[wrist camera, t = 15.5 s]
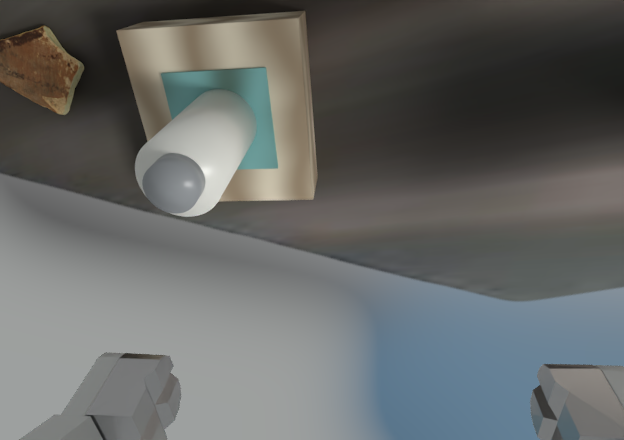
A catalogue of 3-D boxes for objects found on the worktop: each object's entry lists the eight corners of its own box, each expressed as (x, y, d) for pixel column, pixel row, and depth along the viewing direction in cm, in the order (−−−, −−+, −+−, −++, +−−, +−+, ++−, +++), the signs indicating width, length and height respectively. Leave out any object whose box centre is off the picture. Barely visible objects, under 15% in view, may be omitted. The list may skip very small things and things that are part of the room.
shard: (-34, 52, 43) (-48, 56, 42) (-19, -20, 40) (-34, -19, 38) (70, 114, 46) (60, 120, 44) (93, 51, 42) (83, 55, 41)
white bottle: (251, 87, 37) (206, 143, 26) (261, 153, 40) (223, 228, 29) (183, 90, 37) (111, 146, 27) (197, 155, 40) (138, 229, 30)
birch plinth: (305, 10, 38) (297, 18, 33) (317, 176, 46) (312, 201, 42) (142, 22, 40) (114, 31, 35) (182, 180, 48) (163, 203, 44)
